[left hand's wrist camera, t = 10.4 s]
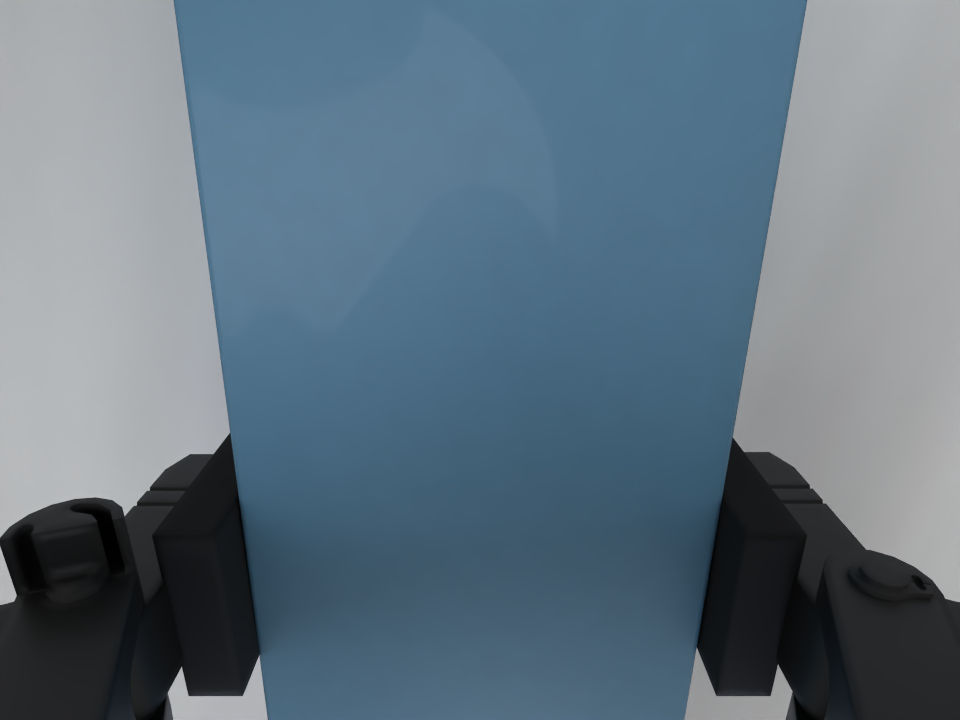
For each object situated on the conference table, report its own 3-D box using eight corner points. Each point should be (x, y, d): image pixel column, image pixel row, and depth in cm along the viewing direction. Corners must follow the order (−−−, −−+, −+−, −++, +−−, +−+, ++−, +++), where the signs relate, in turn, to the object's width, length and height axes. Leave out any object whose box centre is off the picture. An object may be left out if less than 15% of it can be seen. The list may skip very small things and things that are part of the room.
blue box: (328, -172, 13) (79, -671, 5) (646, -165, 13) (923, -649, 5) (364, 490, 19) (272, 778, 10) (589, 493, 19) (676, 783, 10)
